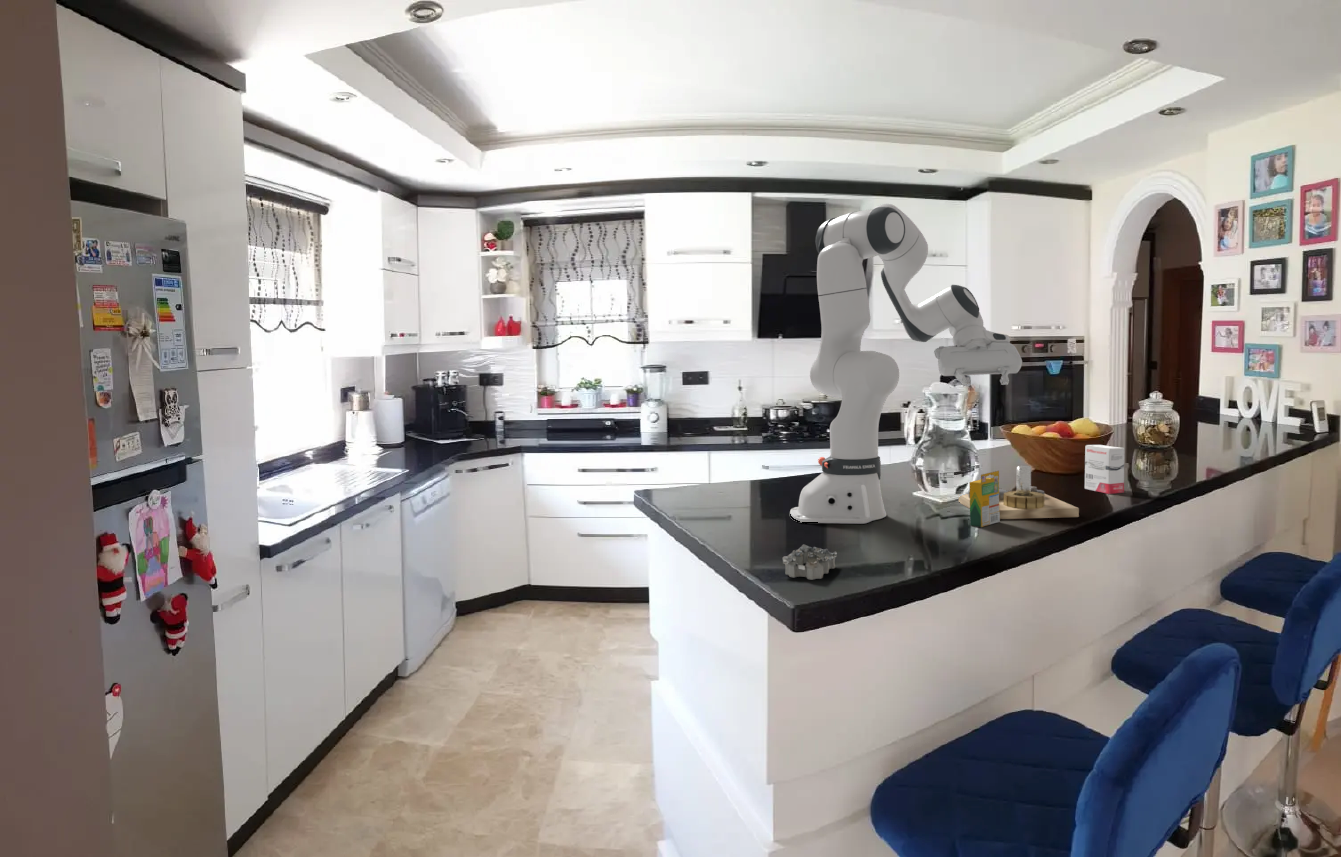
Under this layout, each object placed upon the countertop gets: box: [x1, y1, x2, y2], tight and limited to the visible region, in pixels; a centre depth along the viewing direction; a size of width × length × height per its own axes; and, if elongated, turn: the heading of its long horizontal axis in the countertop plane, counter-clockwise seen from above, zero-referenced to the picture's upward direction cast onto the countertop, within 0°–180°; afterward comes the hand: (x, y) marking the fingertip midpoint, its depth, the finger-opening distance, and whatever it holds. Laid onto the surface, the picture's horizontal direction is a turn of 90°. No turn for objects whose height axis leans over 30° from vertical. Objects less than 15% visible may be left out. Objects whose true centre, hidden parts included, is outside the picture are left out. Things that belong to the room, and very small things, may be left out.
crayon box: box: [968, 470, 1001, 528], centre depth 165 cm, size 7×3×12 cm, turn 126°
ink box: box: [1084, 444, 1125, 495], centre depth 195 cm, size 8×5×12 cm, turn 13°
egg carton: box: [782, 544, 838, 581], centre depth 136 cm, size 11×8×4 cm
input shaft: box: [1015, 465, 1032, 496], centre depth 173 cm, size 3×3×9 cm
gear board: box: [958, 485, 1080, 520], centre depth 178 cm, size 20×20×4 cm
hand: (986, 384), depth 189 cm, fingers open, 8 cm apart
